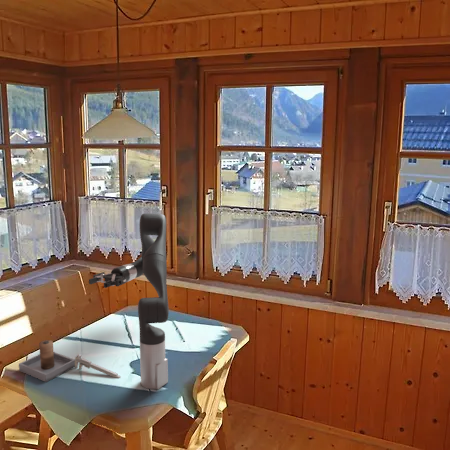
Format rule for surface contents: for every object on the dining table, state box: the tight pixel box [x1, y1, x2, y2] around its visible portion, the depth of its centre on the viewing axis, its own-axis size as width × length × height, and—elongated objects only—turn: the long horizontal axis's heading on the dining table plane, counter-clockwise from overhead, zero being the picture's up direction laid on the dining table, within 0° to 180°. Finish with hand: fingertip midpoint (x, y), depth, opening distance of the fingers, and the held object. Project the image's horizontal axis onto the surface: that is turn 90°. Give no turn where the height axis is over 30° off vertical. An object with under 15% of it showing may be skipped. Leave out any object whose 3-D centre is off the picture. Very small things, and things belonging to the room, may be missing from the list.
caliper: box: [74, 353, 122, 379], centre depth 185 cm, size 20×1×6 cm, turn 69°
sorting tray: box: [18, 351, 75, 383], centre depth 188 cm, size 16×14×3 cm
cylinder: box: [38, 339, 55, 369], centre depth 187 cm, size 5×5×10 cm
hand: (96, 283), depth 198 cm, fingers open, 8 cm apart
